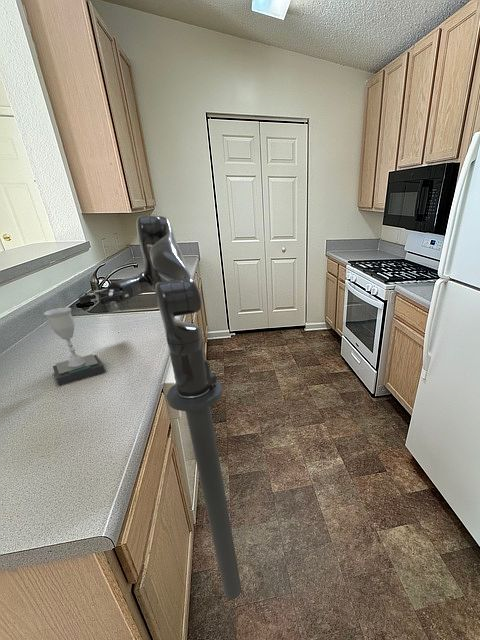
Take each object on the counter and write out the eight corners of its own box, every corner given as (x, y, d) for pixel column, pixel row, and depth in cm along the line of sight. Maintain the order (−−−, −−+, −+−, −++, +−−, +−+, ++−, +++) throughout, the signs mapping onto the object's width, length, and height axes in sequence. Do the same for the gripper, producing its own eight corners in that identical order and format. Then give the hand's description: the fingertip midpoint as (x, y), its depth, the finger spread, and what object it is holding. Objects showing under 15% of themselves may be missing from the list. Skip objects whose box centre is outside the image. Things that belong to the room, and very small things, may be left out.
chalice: (81, 356, 114) (63, 306, 106) (93, 360, 111) (76, 309, 103) (59, 365, 109) (38, 313, 100) (71, 369, 106) (51, 316, 97)
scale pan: (93, 355, 116) (92, 354, 116) (98, 364, 110) (98, 362, 110) (56, 365, 110) (55, 363, 110) (59, 375, 104) (58, 373, 104)
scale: (98, 361, 118) (95, 353, 117) (105, 372, 111) (102, 363, 109) (55, 372, 111) (51, 364, 109) (59, 385, 103) (55, 376, 102)
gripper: (107, 278, 126) (70, 289, 112) (138, 280, 122) (103, 291, 108) (112, 298, 129) (77, 310, 116) (143, 300, 126) (110, 313, 112)
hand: (90, 301), depth 112 cm, fingers open, 8 cm apart
